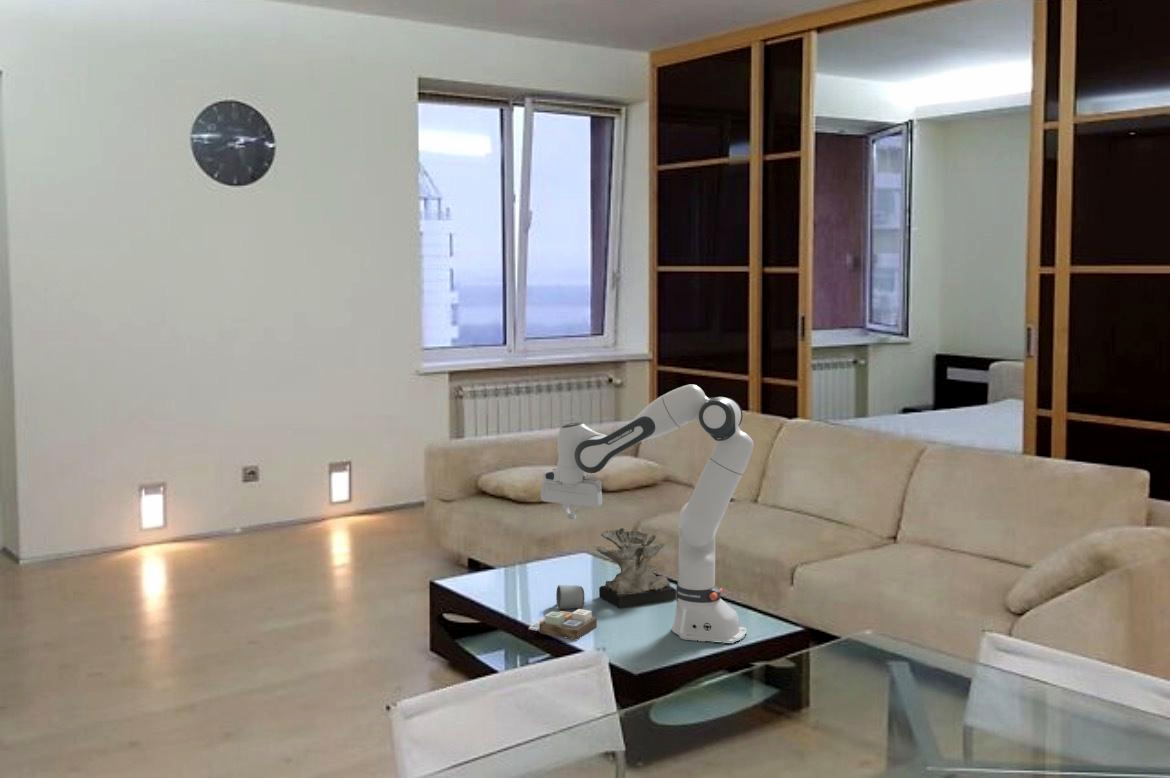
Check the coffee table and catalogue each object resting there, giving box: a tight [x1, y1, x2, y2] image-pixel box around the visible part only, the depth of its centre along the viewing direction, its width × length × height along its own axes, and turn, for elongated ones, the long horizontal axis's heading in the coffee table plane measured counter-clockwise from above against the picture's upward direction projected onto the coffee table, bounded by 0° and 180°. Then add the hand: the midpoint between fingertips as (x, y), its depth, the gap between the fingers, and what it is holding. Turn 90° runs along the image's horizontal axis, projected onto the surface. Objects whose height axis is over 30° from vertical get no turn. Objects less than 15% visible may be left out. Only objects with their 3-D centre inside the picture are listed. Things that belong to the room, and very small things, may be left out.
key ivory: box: [571, 608, 593, 623], centre depth 351 cm, size 4×4×4 cm
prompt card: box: [528, 617, 545, 632], centre depth 354 cm, size 3×10×1 cm, turn 153°
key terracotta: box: [558, 610, 573, 620], centre depth 354 cm, size 4×4×4 cm
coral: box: [595, 527, 676, 609], centre depth 382 cm, size 25×20×22 cm
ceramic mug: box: [555, 584, 586, 610], centre depth 372 cm, size 11×8×8 cm
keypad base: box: [538, 611, 598, 640], centre depth 350 cm, size 13×13×3 cm
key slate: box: [563, 620, 582, 629], centre depth 346 cm, size 4×4×4 cm
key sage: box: [544, 610, 565, 626], centre depth 348 cm, size 4×4×4 cm
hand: (571, 518), depth 360 cm, fingers closed
